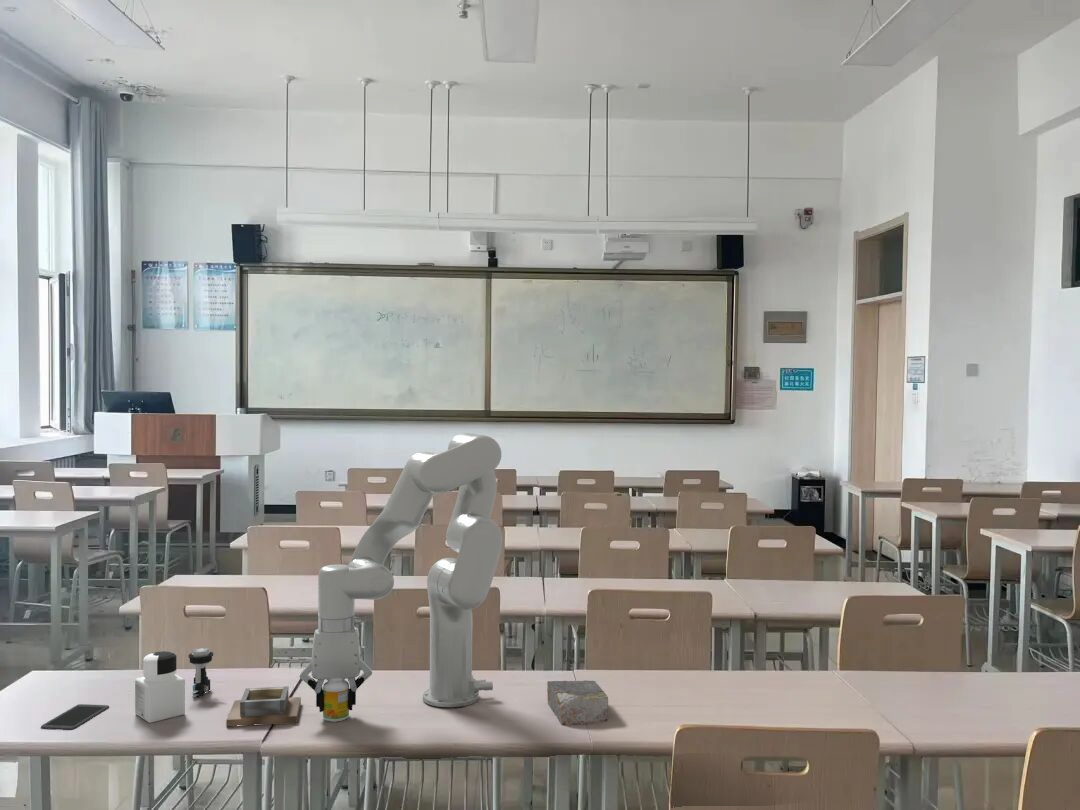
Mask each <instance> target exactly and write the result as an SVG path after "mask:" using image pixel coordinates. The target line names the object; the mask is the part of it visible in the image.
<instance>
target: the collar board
mask: <svg viewBox="0 0 1080 810" xmlns="http://www.w3.org/2000/svg"><path fill="white" fill-rule="evenodd" d="M289 687H290V686H269V687H265V686H264V687H251V688H250V687H246V688H245V690H244V692H243V694H242V697H241V699H239V700H238V699H237V700H234V701H233V704H232V706H231V708H230V711H229V712H228V715H227V718H226V724H225V725H226V726H237V725H254V724H273V725H286V724H285V723H291V724H297V723H298V719H299V712H300V708H301V705H300V704H301V703H302V697H301V696H297V697H296V696H295V697H293V696H292V697H289ZM297 718H298V719H297Z"/></svg>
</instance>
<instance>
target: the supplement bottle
mask: <svg viewBox="0 0 1080 810" xmlns="http://www.w3.org/2000/svg"><path fill="white" fill-rule="evenodd" d="M322 687H323V711H322V718H323V719H324V720H325V721H327V722H332V723H334V722H336V723H337V721H338V722H343V721H345V720H347V719H348V718H349V716H350V710H349V689H350V684H349V681H348V680H346V679H341V678H333V679H326V681H325V683H323V685H322Z"/></svg>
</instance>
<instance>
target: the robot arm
mask: <svg viewBox="0 0 1080 810" xmlns="http://www.w3.org/2000/svg"><path fill="white" fill-rule="evenodd" d="M501 460H502V449H501V446H500V444H499V443H498V441H496V439H494V438H492V437H491V436H488V435H484V434H476V433H467V432H466V433H463V432H462V433H460V434H456V435H454V437H452V438H451V439H450V441H449V443H448V446H447V450H444V451H440V452H437V453H435V452H429V451H420V452H417V453H415V454H413V455H411V456H410V457H409V458H408V460H407V461H406V463H405V465H404V466H403V468H402V471H401V473H400V475H399V476H398V477H399V478H398V479H397V481H396V484H395V486H394V487H393V490H392V492H391V494H390V495H389V497H388V499H387V502H386V504H385V506H384V508H383V509H382V511H381V512H380V514H379V515H378V516H377V517H376V518H375V519H374V520H373V522H372V524H371V525H370V526H369V527H368V528H367V530H366V531H365V532H364V534H363V535H362V537H361V538H360V539H359V542H358V543H357V546H356V547H355V550H354V551H353V553H352V556H351V557H350V560H349V562H348V564H340V563H339V564H328V565H325V566H323V567H321V568H320V569H319V571H318V584H317V586H318V589H317V590H318V593H317V594H318V600H317V601H318V603H317V605H318V606H317V607H318V608H317V610H318V613H317V615H318V618H317V619H318V620H317V621H318V623H317V624H318V627H317V629H315V630H314V633H313V640H312V647H311V648H312V649H311V650H312V651H311V661H310V662H309V663H308V664H307V665H306V667H305V668H304V669H303V670H302V671H301V672H300V674H299V679H301V680H302V681H303V682H304V683H306V684H307V685H308V686H309V688H310V689H312V690H313V691H314V693H315V695H316V696H315V697H316V698H315V703H316V704H315V706H316V708H319V712H318V713H323V686H324V682H325V680H326V681H327V679H333V678H341V679H345V680H346V679H347V682H348V683H349V711H353V706H356V704H357V703H356V702H357V701H356V699H357V698H356V697H357V696H356V694H357V693H356V692H357V690H358V688H360V687H361V686H362V685H363V684H364V683H365V682H366V680H368V679H369V678H370V677H371V676H372V674H373V670H372V669H371V668H370V667H369V666H368V664H366V662H365V661H364V660H363V659H362V658H361V654H362V653H361V652H362V651H361V640H360V639H361V638H360V632H359V628H358V627H356V626H358V625H362V617H358V616H356V615H355V606H356V605H355V600H366V601H367V600H369V601H371V600H372V601H376V600H380V599H383V598H385V597H387V596H388V595H389V594H390V593H391V592H392V591H393V588H394V586H395V585H394V584H395V579H394V576H393V573H392V572H391V570H390V569H389V568H387V567H386V566H385V565H384V564H385V562H386V559H387V557H388V556H389V554H390V552H391V550H392V549H393V548H394V546H395V545H396V544H398V542H399V541H400V540H402V539H403V538H405V537H406V536H409V535H410V534H412V533H413V532H414V531H416V530H417V529H418V528H419V526H420V524H421V522H422V521H423V517H424V516H425V514H426V512H427V509H428V507H429V505H430V503H431V501H432V499H433V498H434V495H435V494H442V493H443V494H444V493H446V492H450V491H452V490H455V489H457V488H459V489H458V492H457V497H456V501H455V505H454V507H453V510H452V514H451V517H450V520H449V523H448V526H447V530H446V533H445V541H446V543H447V545H448V547H450V549H451V550H453V551H454V552H456V553H457V554H458V555H457V557H456V558H454V557H444V558H441V559H439V560H438V561H436V562H435V563H434V564H433V565H432V566H431V567H430V569H429V571H428V575H427V579H426V589H427V595H428V596H427V597H428V604H429V688H427V689H426V690H424V691H423V693H422V700H423V702H424V703H425V704H427V705H430V706H433V707H437V708H460V707H465V706H469V705H472V704H474V703H476V702H477V701H478V700H479V698H480V696H479V695H480V694H479V691H493V689H494V685H493V680H492V681H491V680H490V681H487V680H486V679H476V678H474V675H473V611H472V610H474V609H476V608H477V607H479V606H480V605H482V603H483V602H484V601H485V599H486V598H487V596H488V594H489V591H490V589H491V586H492V582H493V579H494V576H495V574H496V570H497V567H498V564H499V560H500V557H501V553H502V548H503V534H502V529H501V528H500V526H499V525H498V523H497V522H495V521H494V520H493V519H491V518H492V513H493V510H494V506H495V502H496V497H497V489H498V485H497V478H496V473H495V470H496V469H497V468H498V467H499V465H500V463H501ZM361 671H362V672H363V673H362V674H361ZM310 673H311V676H312V677H311V676H310V675H309V674H310ZM360 674H361V675H360ZM357 677H358V678H357ZM316 680H317V681H316Z"/></svg>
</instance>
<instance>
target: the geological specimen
mask: <svg viewBox="0 0 1080 810" xmlns="http://www.w3.org/2000/svg"><path fill="white" fill-rule="evenodd" d="M546 682H547V683H546V684H547V690H546V691H547V695H546V696H547V705H548V706H549V709H551V711H552V712H553V714H554V716H556V719H557V720H558V722H559V724H560V725H561V726H575V725H576V726H577V725H580V726H583V725H589V724H590V725H591V724H594V723H599V722H604V721H608V719H609V718H608V707H609V696H608V694H606V693H605V690H603V689H602V687H601V686H600V685H599V684H598V683H597V681H595V680H588V679H587V680H548V681H546Z"/></svg>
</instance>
